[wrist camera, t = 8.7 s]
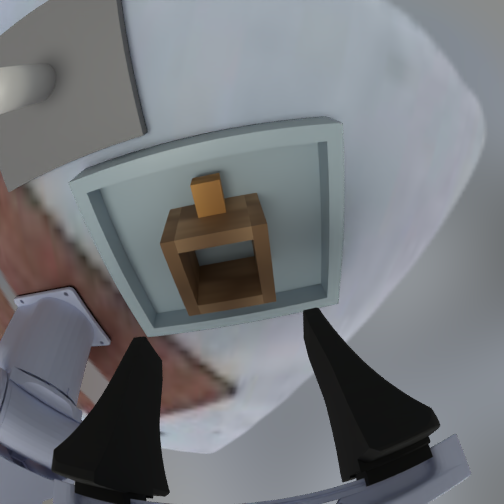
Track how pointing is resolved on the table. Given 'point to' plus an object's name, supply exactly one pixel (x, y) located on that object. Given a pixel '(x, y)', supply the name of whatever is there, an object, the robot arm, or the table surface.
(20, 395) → the robot arm
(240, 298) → the walnut collar
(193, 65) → the table surface
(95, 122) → the post board
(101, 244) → the pale green tray
